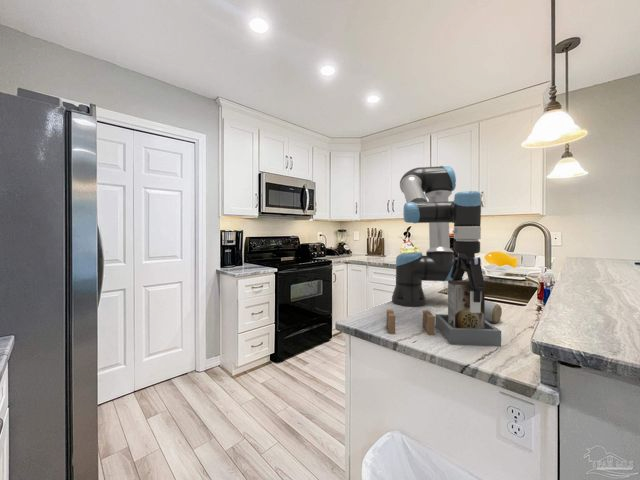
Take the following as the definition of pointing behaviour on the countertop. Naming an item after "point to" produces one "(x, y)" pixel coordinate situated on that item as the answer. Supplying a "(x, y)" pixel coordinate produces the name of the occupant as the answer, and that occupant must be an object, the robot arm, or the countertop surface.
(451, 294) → the coffee box
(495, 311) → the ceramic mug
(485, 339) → the tray
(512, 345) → the countertop surface
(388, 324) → the wooden blocks
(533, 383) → the countertop surface
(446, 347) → the countertop surface
